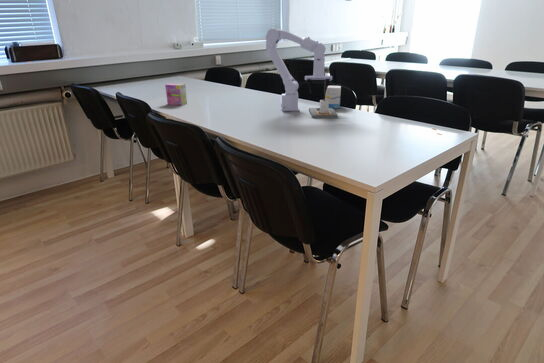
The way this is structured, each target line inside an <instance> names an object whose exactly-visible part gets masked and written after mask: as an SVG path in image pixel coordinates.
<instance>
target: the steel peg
mask: <svg viewBox="0 0 544 363" xmlns="http://www.w3.org/2000/svg"><path fill="white" fill-rule="evenodd" d="M319 108H320V112H319V114H328V108H329V101H328V100H325V99H320V100H319Z"/></svg>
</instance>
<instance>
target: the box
mask: <svg viewBox="0 0 544 363" xmlns="http://www.w3.org/2000/svg"><path fill="white" fill-rule="evenodd" d="M164 85H165V86H164V87H165V93H166V95H165V96H166V101H167V105H173V106H184V105H187V104H188V98H187V88H186V83H171V82H170V83H166V84H164Z"/></svg>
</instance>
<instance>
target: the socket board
mask: <svg viewBox="0 0 544 363" xmlns="http://www.w3.org/2000/svg"><path fill="white" fill-rule="evenodd" d="M308 112H309V114H310V116H311V119H338V117H339V116H338V113H337V112H336V111H335V108H328V114H319V112H320V107H309V108H308Z"/></svg>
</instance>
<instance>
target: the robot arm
mask: <svg viewBox="0 0 544 363" xmlns="http://www.w3.org/2000/svg"><path fill="white" fill-rule="evenodd" d="M285 39H286V40H288V41H291V42H293V43H295V44H298V45H299V46H300V48H301V49H303V50H305V51H308V52H310V53H313V54H314V58H313V73H312V75H305V76H304V80H305V81H306V82H307V86H308V90H309V94H311V95H312V93H313V92H312V91H313V90H312V85H313V81H324V85H323V86H324V87H323V94H324V95H325V94H326V90H327V87H328V86H330V84H331V81H332V80H333V75H325V65H326V64H325V62H326V60H325V57H326V55H325V54H326V53H325V52H326V49H327V48H326V46H325V44H323V43H322V42H319V41H318V40H317V41H316V40H313V39H311V37H310V36H308V37H307V36H305V37H303V38H302V37H300V36H298V35H296V34H294V33H292V32H290V31H288V30H285V29H281V28H277V27H275V28H274V27H273V28H270V29H268V30H267V32H266V35H265V42H266V43H265V51H266V52H267V54H268V56H269V58H270V59H271V61H272V63H273V64H274V67H275V68H276V70H277V72H278V73H279V76H280V77H281V79H282V83H283V86H284V90H285V93H281V103H280V108H281V111H282V112H283V111H285V112H287V111H288V112H293V111H294V112H298V111H299V112H300V109H299V108H300V107H299V92H298V89H299V87H300V84H299V83H298V81H297V80H296V79H295V78H294V77H293V76H292V74H291V72H290V71H289V70H288V67H287V66H286V64H285V62H284V61H283V58H282V57H281V55H280V53H279V51H278V49H277V47H278V43H279V41H280V40H285Z"/></svg>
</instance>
